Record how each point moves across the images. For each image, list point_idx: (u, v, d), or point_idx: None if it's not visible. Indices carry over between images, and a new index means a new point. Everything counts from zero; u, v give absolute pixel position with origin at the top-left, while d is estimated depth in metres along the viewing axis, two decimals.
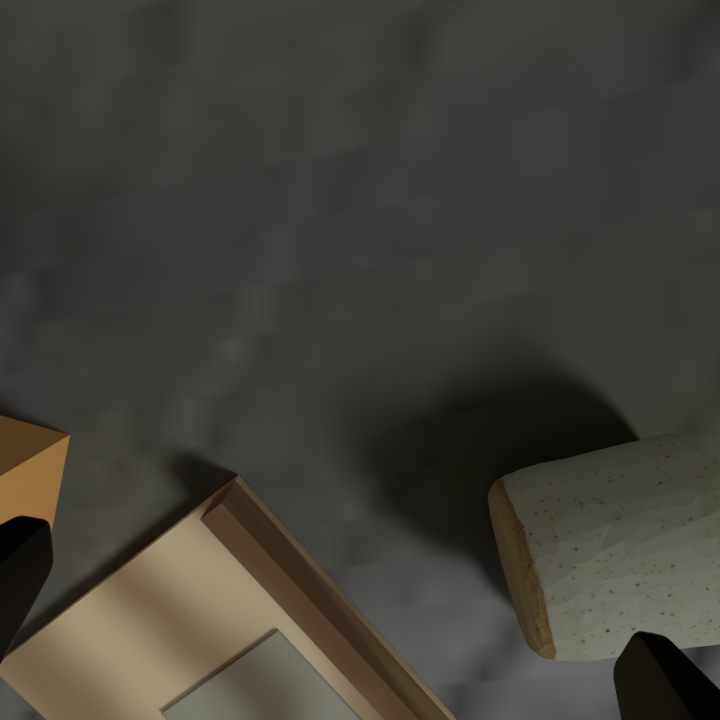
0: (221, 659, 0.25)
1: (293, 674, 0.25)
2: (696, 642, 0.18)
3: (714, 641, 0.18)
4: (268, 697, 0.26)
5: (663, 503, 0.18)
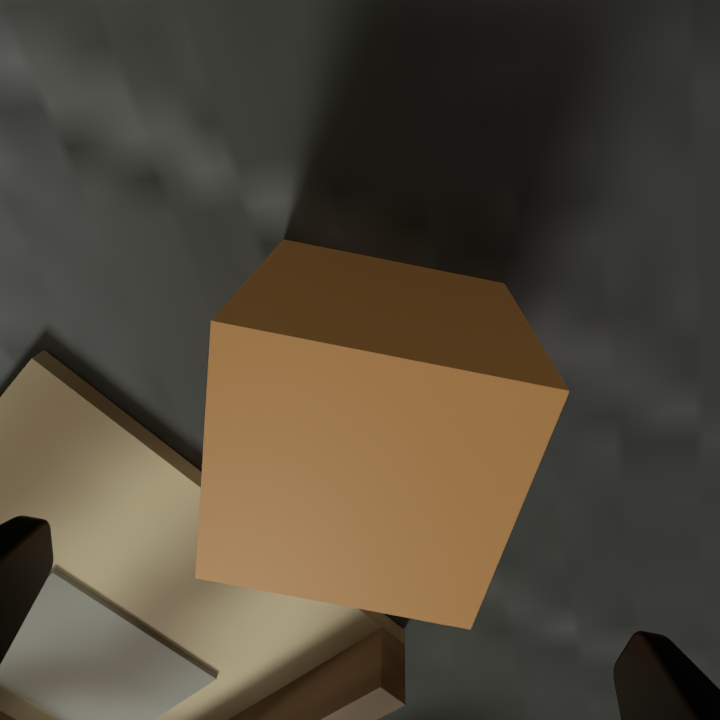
0: (158, 626, 0.20)
1: (164, 690, 0.21)
2: None
3: None
4: (125, 670, 0.21)
5: None
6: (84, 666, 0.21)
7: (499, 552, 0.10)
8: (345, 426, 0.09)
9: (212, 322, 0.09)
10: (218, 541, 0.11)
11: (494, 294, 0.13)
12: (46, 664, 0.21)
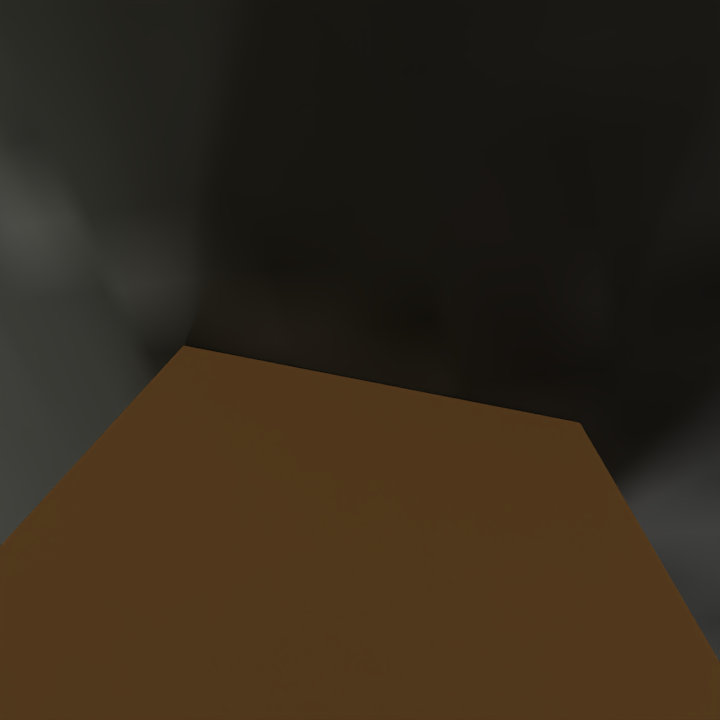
0: None
1: None
2: None
3: None
4: None
5: None
6: None
7: None
8: None
9: None
10: None
11: (575, 471, 0.07)
12: None
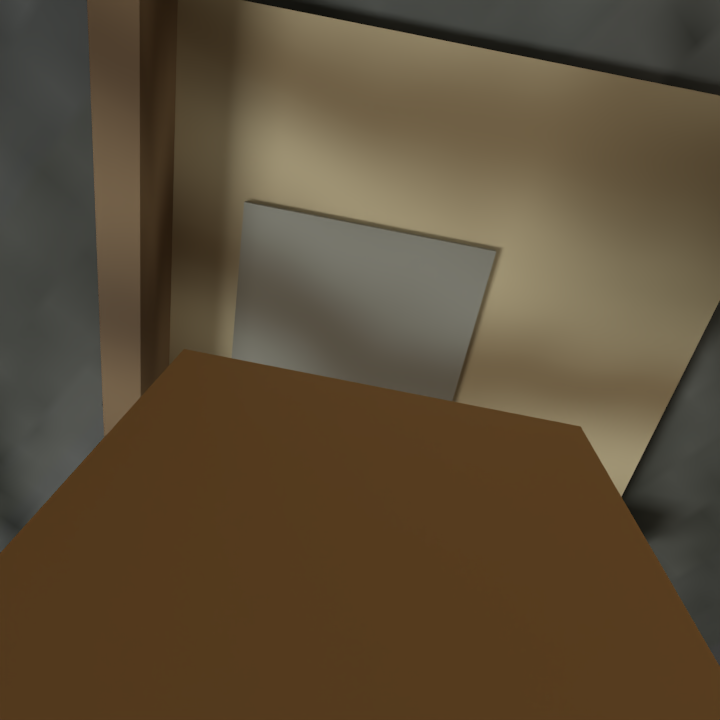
0: (471, 378, 0.18)
1: None
2: None
3: None
4: (381, 378, 0.18)
5: None
6: (353, 339, 0.17)
7: None
8: None
9: None
10: None
11: (576, 475, 0.07)
12: (323, 301, 0.17)
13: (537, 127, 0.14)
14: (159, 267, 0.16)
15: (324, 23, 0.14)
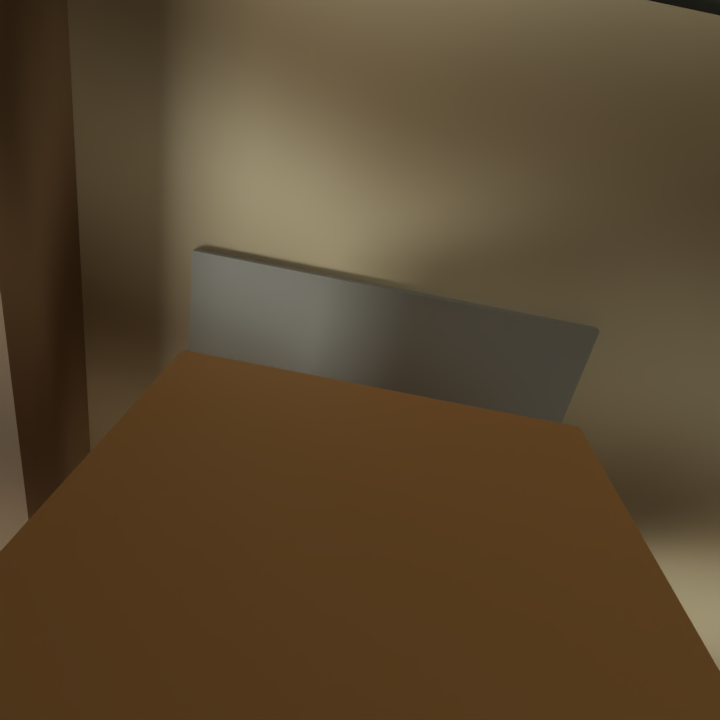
0: None
1: None
2: None
3: None
4: None
5: None
6: None
7: None
8: None
9: None
10: None
11: (574, 476, 0.07)
12: None
13: (687, 132, 0.08)
14: (57, 353, 0.10)
15: None
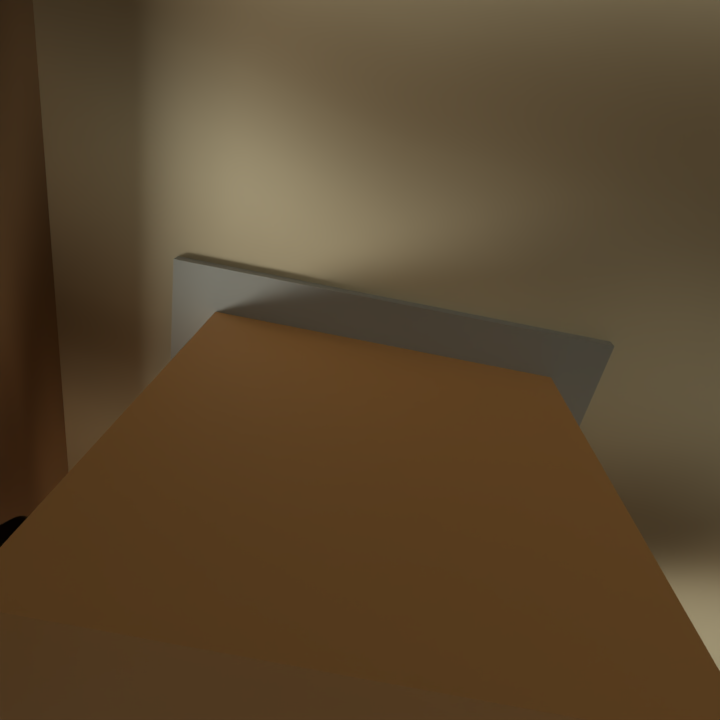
0: None
1: None
2: None
3: None
4: None
5: None
6: None
7: None
8: None
9: None
10: None
11: (542, 410, 0.08)
12: None
13: (713, 130, 0.08)
14: (28, 370, 0.09)
15: None
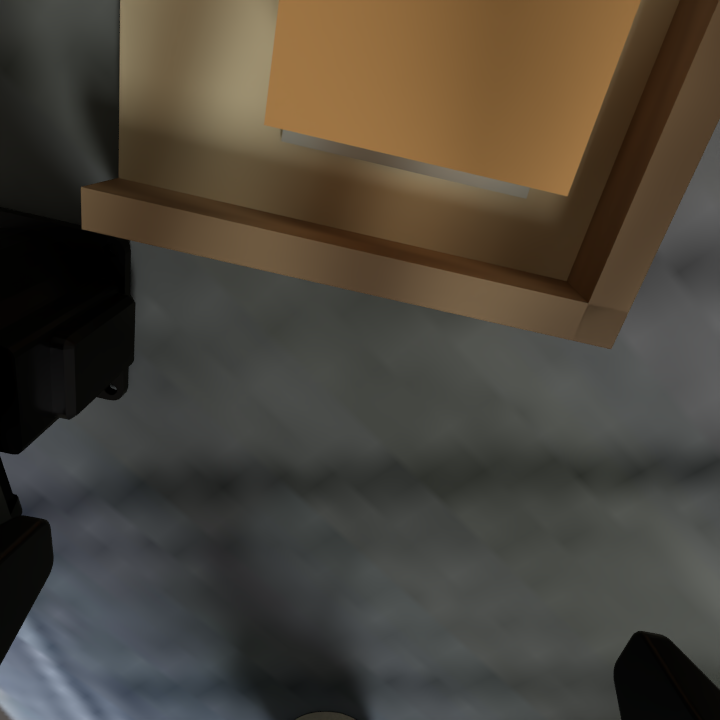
0: None
1: None
2: None
3: None
4: None
5: None
6: None
7: None
8: None
9: (264, 122, 0.10)
10: (514, 159, 0.10)
11: None
12: None
13: None
14: (338, 235, 0.16)
15: (125, 40, 0.15)
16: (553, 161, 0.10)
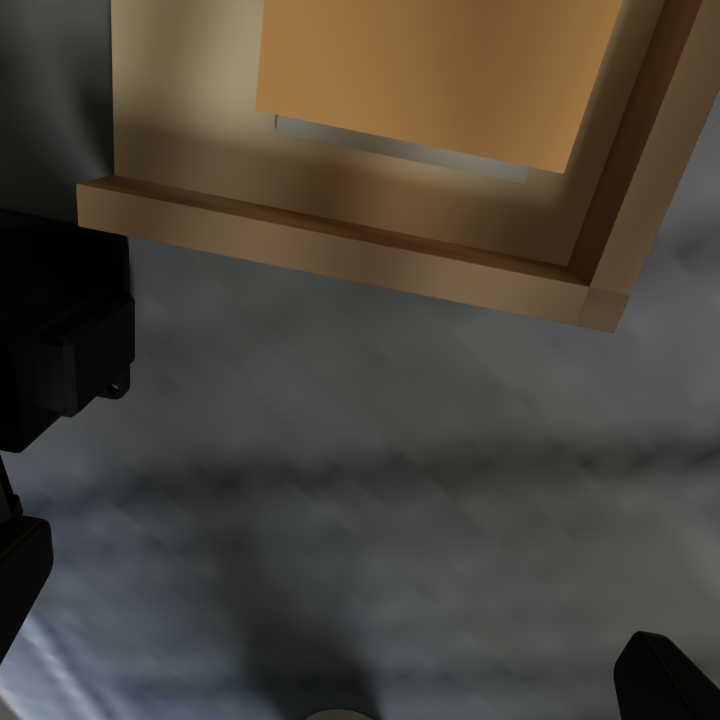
0: None
1: None
2: None
3: None
4: None
5: None
6: None
7: None
8: None
9: (255, 107, 0.10)
10: (509, 137, 0.10)
11: None
12: None
13: None
14: (335, 225, 0.16)
15: (117, 36, 0.15)
16: (548, 138, 0.10)
